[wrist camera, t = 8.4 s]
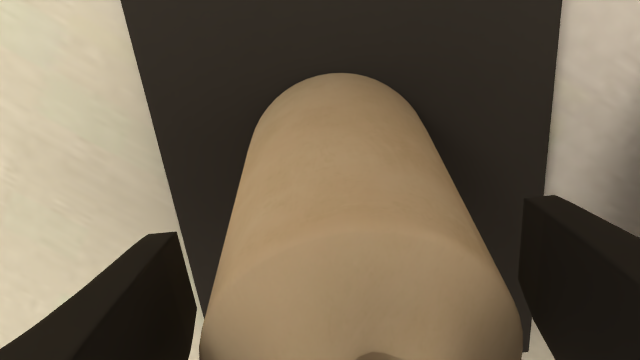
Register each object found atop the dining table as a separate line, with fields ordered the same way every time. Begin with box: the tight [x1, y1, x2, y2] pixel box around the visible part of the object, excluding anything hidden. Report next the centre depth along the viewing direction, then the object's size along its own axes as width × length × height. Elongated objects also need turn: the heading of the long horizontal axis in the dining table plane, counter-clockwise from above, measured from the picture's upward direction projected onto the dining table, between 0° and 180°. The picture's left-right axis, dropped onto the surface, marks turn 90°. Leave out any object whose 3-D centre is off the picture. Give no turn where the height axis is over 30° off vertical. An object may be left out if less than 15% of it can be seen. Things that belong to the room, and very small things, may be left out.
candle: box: [199, 73, 523, 360], centre depth 12 cm, size 6×6×10 cm
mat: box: [121, 0, 562, 352], centre depth 17 cm, size 19×12×1 cm, turn 6°
